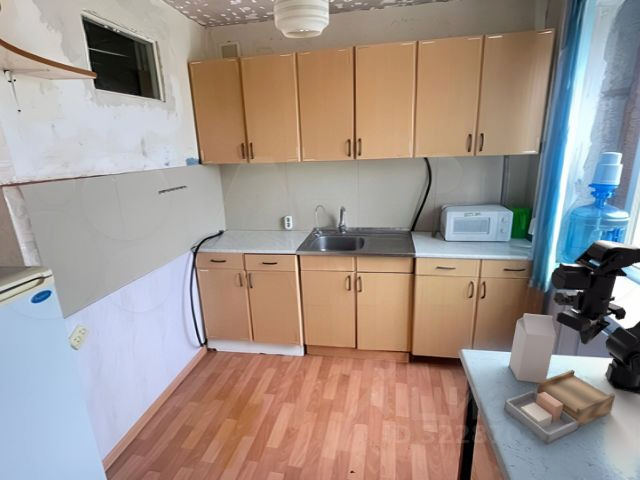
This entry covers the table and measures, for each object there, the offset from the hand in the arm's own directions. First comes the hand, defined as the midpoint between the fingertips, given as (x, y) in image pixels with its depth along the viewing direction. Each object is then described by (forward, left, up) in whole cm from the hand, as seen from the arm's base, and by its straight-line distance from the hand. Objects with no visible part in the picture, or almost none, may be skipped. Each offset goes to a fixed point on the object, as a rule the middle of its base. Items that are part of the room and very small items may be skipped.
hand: (584, 343), depth 90 cm
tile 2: (+9, +17, -9) cm, 21 cm away
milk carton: (+12, +2, -12) cm, 17 cm away
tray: (+12, +20, -12) cm, 26 cm away
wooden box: (+3, +11, -12) cm, 17 cm away
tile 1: (+13, +21, -9) cm, 26 cm away
